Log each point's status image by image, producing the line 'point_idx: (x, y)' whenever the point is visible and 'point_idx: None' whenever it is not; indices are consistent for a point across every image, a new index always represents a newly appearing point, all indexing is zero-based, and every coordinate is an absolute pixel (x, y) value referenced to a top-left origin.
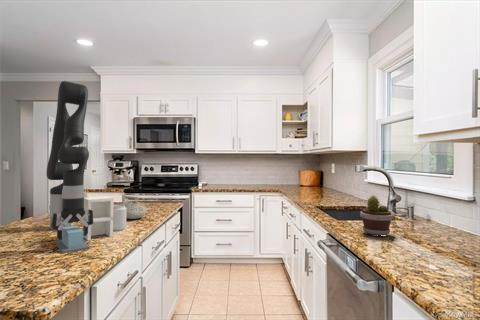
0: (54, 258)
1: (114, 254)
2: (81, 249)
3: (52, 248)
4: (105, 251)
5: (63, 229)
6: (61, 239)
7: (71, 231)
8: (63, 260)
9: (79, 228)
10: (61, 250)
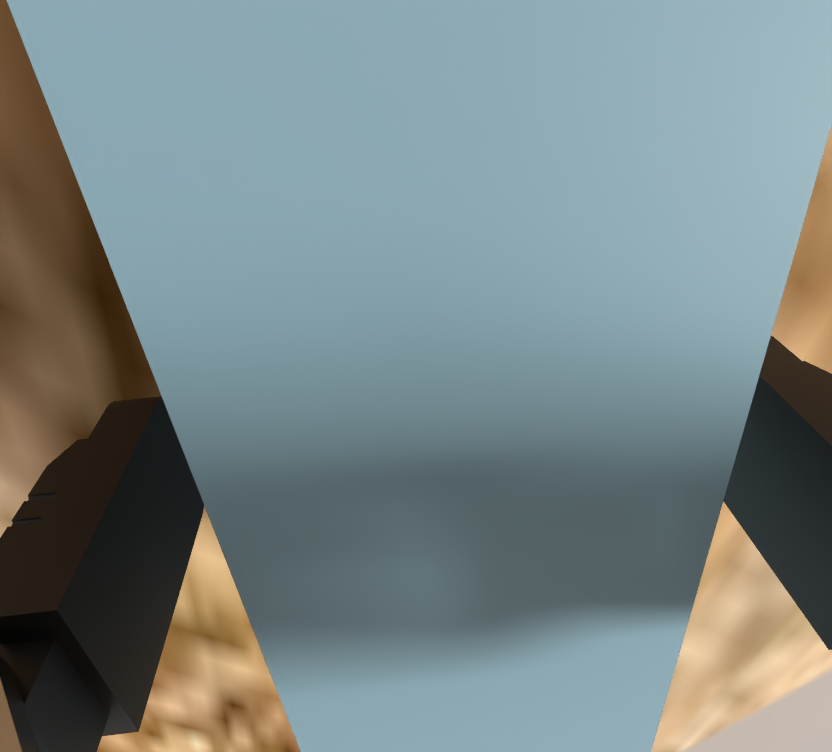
0: (191, 661)
1: (695, 734)
2: None
3: (59, 227)
4: (685, 657)
5: (132, 253)
6: (195, 493)
7: (400, 748)
8: (283, 723)
9: (695, 555)
10: None
